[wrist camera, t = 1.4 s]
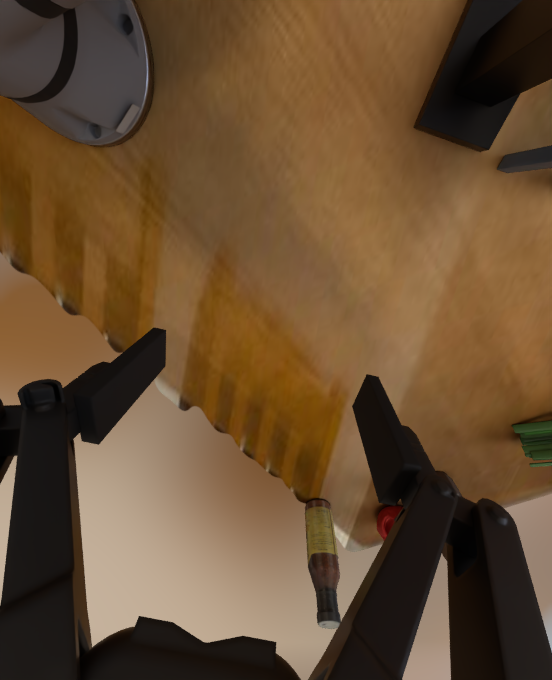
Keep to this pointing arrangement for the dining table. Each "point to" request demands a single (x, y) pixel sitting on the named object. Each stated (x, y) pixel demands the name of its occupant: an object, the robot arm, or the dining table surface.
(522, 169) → the chair
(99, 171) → the dining table surface
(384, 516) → the pomegranate
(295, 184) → the dining table surface
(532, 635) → the robot arm
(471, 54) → the stand
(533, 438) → the daffodil flowers
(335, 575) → the sauce bottle
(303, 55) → the dining table surface
